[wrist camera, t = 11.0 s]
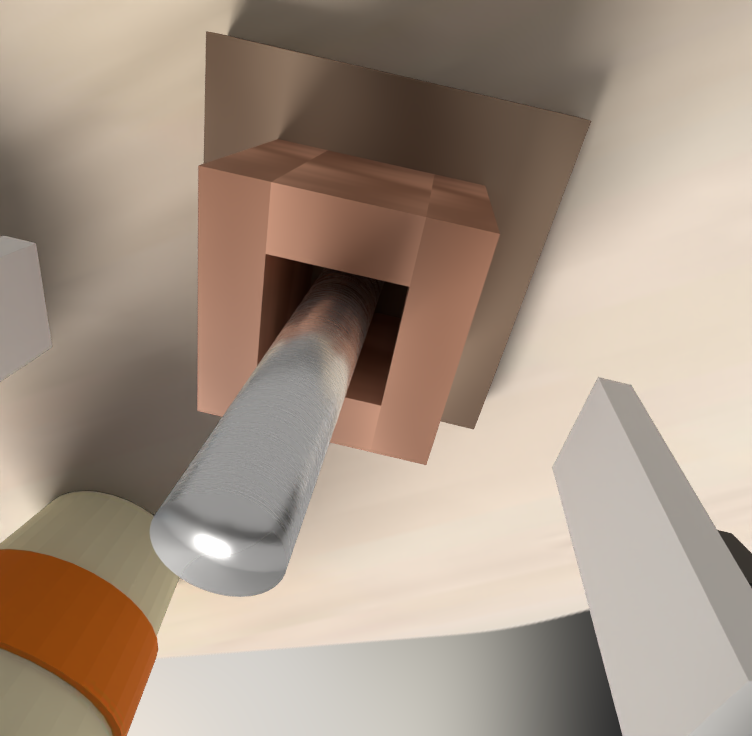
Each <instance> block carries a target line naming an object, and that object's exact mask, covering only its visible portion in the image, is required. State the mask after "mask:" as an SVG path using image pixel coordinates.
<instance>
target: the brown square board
mask: <svg viewBox="0 0 752 736" xmlns="http://www.w3.org/2000/svg"><path fill="white" fill-rule="evenodd" d="M590 123H591V121H590V120H586V119H583V118H579V117H575V116H571V115H567V114H562V113H558V112H554V111H549V110H545V109H541V108H537V107H532V106H528V105H524V104H519V103H515V102H511V101H506V100H502V99H498V98H494V97H489V96H485V95H481V94H476V93H472V92H468V91H464V90H459V89H455V88H451V87H446V86H442V85H438V84H433V83H429V82H425V81H421V80H416V79H412V78H408V77H403V76H399V75H395V74H391V73H386V72H382V71H378V70H373V69H369V68H365V67H360V66H356V65H352V64H348V63H343V62H339V61H335V60H330V59H326V58H322V57H318V56H313V55H309V54H305V53H300V52H296V51H292V50H287V49H283V48H279V47H275V46H270V45H266V44H262V43H257V42H253V41H249V40H245V39H240V38H236V37H232V36H227V35H222V34H217V33H212V32H207V31H206V74H205V127H204V164H205V163H208V162H211V161H214V160H217V159H220V158H223V157H226V156H229V155H232V154H235V153H238V152H241V151H244V150H247V149H250V148H253V147H256V146H259V145H262V144H265V143H268V142H271V141H273V140H276V139H280V140H284V141H289V142H293V143H298V144H302V145H307V146H311V147H316V148H320V149H324V150H329V151H333V152H338V153H342V154H347V155H351V156H356V157H360V158H364V159H369V160H373V161H378V162H382V163H387V164H391V165H396V166H400V167H404V168H409V169H413V170H418V171H422V172H427V173H431V174H436V175H440V176H444V177H449V178H453V179H458V180H462V181H467V182H471V183H476V184H480V185H484V186H486V190H487V193H488V196H489V199H490V203H491V206H492V209H493V212H494V216H495V219H496V222H497V226H498V229H499V232H500V236H499V239H498V242H497V245H496V248H495V251H494V255H493V258H492V261H491V264H490V267H489V270H488V273H487V276H486V280H485V283H484V286H483V289H482V292H481V295H480V298H479V301H478V305H477V308H476V311H475V314H474V317H473V320H472V323H471V326H470V330H469V333H468V336H467V339H466V342H465V345H464V348H463V352H462V355H461V358H460V361H459V364H458V367H457V370H456V373H455V377H454V380H453V383H452V386H451V389H450V392H449V395H448V398H447V402H446V405H445V408H444V411H443V414H442V417H441V420H440V421H441V422H446V423H450V424H454V425H458V426H462V427H466V428H470V429H474V428H475V425H476V423H477V420H478V417H479V415H480V412H481V409H482V407H483V404H484V401H485V399H486V396H487V394H488V391H489V388H490V386H491V383H492V380H493V378H494V375H495V373H496V370H497V367H498V365H499V362H500V359H501V357H502V354H503V351H504V349H505V346H506V344H507V341H508V338H509V336H510V333H511V330H512V328H513V325H514V323H515V320H516V317H517V315H518V312H519V309H520V307H521V304H522V302H523V299H524V296H525V294H526V291H527V288H528V286H529V283H530V280H531V278H532V275H533V273H534V270H535V267H536V265H537V262H538V259H539V257H540V254H541V252H542V249H543V246H544V244H545V241H546V238H547V236H548V233H549V231H550V228H551V225H552V223H553V220H554V217H555V215H556V212H557V209H558V207H559V204H560V202H561V199H562V196H563V194H564V191H565V188H566V186H567V183H568V181H569V178H570V175H571V173H572V170H573V167H574V165H575V162H576V159H577V157H578V154H579V152H580V149H581V146H582V144H583V141H584V138H585V136H586V133H587V131H588V128H589V125H590ZM324 268H325V267H321V266H317V265H313V270H312V278H311V286H310V288H311V287H312V285H313V284H314V282H315V281H316V280H317V278H318V277H319V275H320V274H321V272H322V271H323V269H324ZM407 289H408V286H404V285H399V284H395V283H391V282H386V281H385V282H384V285H383V287H382V290H381V293H380V296H379V299H378V302H377V305H376V308H375V311H374V312H376V313H380V314H385V315H389V316H393V317H398V318H401V314H402V310H403V306H404V302H405V297H406V293H407Z"/></svg>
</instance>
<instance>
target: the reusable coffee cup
mask: <svg viewBox="0 0 752 736" xmlns="http://www.w3.org/2000/svg"><path fill="white" fill-rule="evenodd" d="M153 517H154V516H153V515H152V514H150V513H149V512H148V511H146V510H145V509H143V508H142V507H140V506H138V505H136V504H134V503H132V502H130V501H128V500H125V499H122V498H120V497H117V496H114V495H110V494H106V493H101V492H93V491H78V492H71V493H67V494H64V495H61V496H60V497H58V498H56V499H55V500H53V501H52V502H51V503H49V504H48V505H47V506H46V507H45V508H43V509H42V510H41V511H40V512H38V513H37V514H36V515H35V516H34V517H32V518H31V519H30V520H29V521H27V522H26V523H25V524H24V525H23V526H21V527H20V528H19V529H18V530H16V531H15V532H14V533H13V534H11V535H10V536H9V537H8V538H7V539H5V540H4V541H3V542H2V543H0V736H127V733H128V731H129V728H130V725H131V723H132V720H133V718H134V715H135V712H136V710H137V707H138V704H139V702H140V699H141V697H142V694H143V691H144V688H145V686H146V683H147V681H148V678H149V675H150V673H151V670H152V667H153V665H154V662H155V660H156V656H157V652H158V643H157V637H156V636H157V634H158V631H159V628H160V626H161V623H162V621H163V618H164V616H165V613H166V611H167V608H168V605H169V603H170V600H171V598H172V595H173V593H174V590H175V588H176V585H177V583H178V580H179V576H177V575H176V574H175V573H173V572H172V571H171V570H170V569H169V568H168V567H167V566H166V565H165V564H164V563H163V562H162V561H161V560H160V558H159V557H158V555H157V554H156V552H155V550H154V548H153V546H152V543H151V539H150V525H151V521H152V519H153Z"/></svg>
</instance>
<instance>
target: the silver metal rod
mask: <svg viewBox="0 0 752 736" xmlns="http://www.w3.org/2000/svg"><path fill="white" fill-rule="evenodd" d="M384 282H385V281H382V280H378V279H373V278H369V277H364V276H360V275H356V274H351V273H347V272H343V271H338V270H334V269H330V268H324V269H323V271H322V272H321V274H320V275H319V277H318V278H317V280H316V281H315V282H314V284H313V285H312V287H311V288H310V290H309V291H308V293H307V294H306V296H305V297H304V298H303V300H302V301H301V303H300V304H299V306H298V307H297V309H296V310H295V312H294V313H293V314H292V316H291V317H290V319H289V320H288V322H287V323H286V325H285V326H284V328H283V329H282V331H281V332H280V333H279V335H278V336H277V338H276V339H275V341H274V342H273V344H272V345H271V347H270V348H269V349H268V351H267V352H266V354H265V355H264V357H263V358H262V360H261V361H260V363H259V364H258V366H257V367H256V368H255V370H254V371H253V373H252V374H251V376H250V377H249V379H248V380H247V382H246V383H245V384H244V386H243V387H242V389H241V390H240V392H239V393H238V395H237V396H236V398H235V399H234V400H233V402H232V403H231V405H230V406H229V408H228V409H227V411H226V412H225V414H224V415H223V417H222V418H221V419H220V421H219V422H218V424H217V425H216V427H215V428H214V430H213V431H212V433H211V434H210V435H209V437H208V438H207V440H206V441H205V443H204V444H203V446H202V447H201V449H200V450H199V451H198V453H197V454H196V456H195V457H194V459H193V460H192V462H191V463H190V465H189V466H188V468H187V469H186V470H185V472H184V473H183V475H182V476H181V478H180V479H179V481H178V482H177V484H176V485H175V486H174V488H173V489H172V491H171V492H170V494H169V495H168V497H167V498H166V500H165V501H164V503H163V504H162V505H161V507H160V508H159V510H158V511H157V513H156V514H155V516H154V517H153V519H152V521H151V525H150V539H151V543H152V546H153V548H154V550H155V552H156V554H157V555H158V557H159V558H160V560H161V561H162V562H163V563H164V564H165V565H166V566H167V567H168V568H169V569H170V570H171V571H172V572H173V573H175V574H176V575H177V576H179V577H180V578H181V579H183V580H185V581H186V582H188V583H190V584H192V585H194V586H196V587H198V588H200V589H203V590H206V591H209V592H212V593H216V594H220V595H226V596H237V597H243V596H253V595H258V594H261V593H264V592H266V591H269V590H270V589H272V588H274V587H275V586H276V585H277V584H278V583H279V582H280V581H281V580H282V578H283V576H284V574H285V572H286V569H287V566H288V563H289V560H290V557H291V554H292V552H293V549H294V546H295V543H296V540H297V537H298V534H299V531H300V528H301V525H302V522H303V519H304V516H305V513H306V510H307V508H308V505H309V502H310V499H311V496H312V493H313V490H314V487H315V484H316V481H317V478H318V475H319V472H320V469H321V466H322V464H323V461H324V458H325V455H326V452H327V449H328V446H329V443H330V440H331V437H332V434H333V431H334V428H335V425H336V422H337V419H338V417H339V414H340V411H341V408H342V405H343V402H344V399H345V396H346V393H347V390H348V387H349V384H350V381H351V378H352V375H353V373H354V370H355V367H356V364H357V361H358V358H359V355H360V352H361V349H362V346H363V343H364V340H365V337H366V334H367V331H368V329H369V326H370V323H371V320H372V317H373V314H374V311H375V308H376V305H377V302H378V299H379V296H380V293H381V290H382V287H383V285H384Z"/></svg>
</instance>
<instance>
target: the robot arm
mask: <svg viewBox="0 0 752 736" xmlns="http://www.w3.org/2000/svg"><path fill="white" fill-rule="evenodd" d="M50 348H52V341H51V335H50V328H49V322H48V315H47V309H46V303H45V296H44V290H43V284H42V277H41V271H40V264H39V258H38V252H37V245H36V243H33V242H29V241H25V240H21V239H17V238H12V237H8V236H1V237H0V382H1V381H2V380H4V379H5V378H7V377H8V376H10V375H11V374H13V373H14V372H16V371H17V370H19V369H20V368H22V367H23V366H25V365H26V364H28V363H29V362H31V361H32V360H34V359H35V358H37V357H38V356H40V355H41V354H43V353H44V352H46V351H47V350H49V349H50ZM552 468H553V472H554V476H555V480H556V483H557V487H558V491H559V495H560V499H561V502H562V506H563V510H564V514H565V518H566V521H567V525H568V529H569V533H570V537H571V540H572V544H573V548H574V552H575V556H576V559H577V563H578V567H579V571H580V575H581V578H582V582H583V586H584V590H585V594H586V598H587V601H588V605H589V609H590V613H591V616H592V620H593V624H594V628H595V632H596V636H597V639H598V643H599V647H600V651H601V654H602V658H603V662H604V666H605V670H606V674H607V677H608V681H609V685H610V689H611V693H612V696H613V700H614V704H615V708H616V712H617V715H618V719H619V723H620V727H621V731H622V734H623V736H752V553H751V552H750V551H749V550H748V549H747V548H746V547H745V546H744V545H743V544H742V543H741V542H740V541H739V540H738V539H737V538H736V537H735V536H734V535H733V534H732V533H728V532H724V531H719V530H717V529H716V527H715V526H714V524H713V522H712V520H711V519H710V517H709V515H708V514H707V512H706V510H705V509H704V507H703V505H702V504H701V502H700V500H699V499H698V497H697V495H696V493H695V492H694V490H693V488H692V487H691V485H690V483H689V482H688V480H687V478H686V477H685V475H684V473H683V472H682V470H681V468H680V466H679V465H678V463H677V461H676V460H675V458H674V456H673V455H672V453H671V451H670V450H669V448H668V446H667V445H666V443H665V441H664V439H663V438H662V436H661V434H660V433H659V431H658V429H657V428H656V426H655V424H654V423H653V421H652V419H651V418H650V416H649V414H648V412H647V411H646V409H645V407H644V406H643V404H642V402H641V401H640V399H639V397H638V396H637V394H636V392H635V391H634V389H633V387H632V385H629V384H625V383H620V382H616V381H612V380H608V379H604V378H599V377H598V378H597V380H596V382H595V384H594V386H593V388H592V390H591V392H590V394H589V396H588V398H587V400H586V402H585V404H584V406H583V408H582V410H581V412H580V414H579V416H578V418H577V420H576V422H575V423H574V425H573V427H572V429H571V431H570V433H569V435H568V437H567V439H566V441H565V443H564V445H563V447H562V449H561V451H560V453H559V455H558V457H557V459H556V461H555V463H554V465H553V467H552Z"/></svg>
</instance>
